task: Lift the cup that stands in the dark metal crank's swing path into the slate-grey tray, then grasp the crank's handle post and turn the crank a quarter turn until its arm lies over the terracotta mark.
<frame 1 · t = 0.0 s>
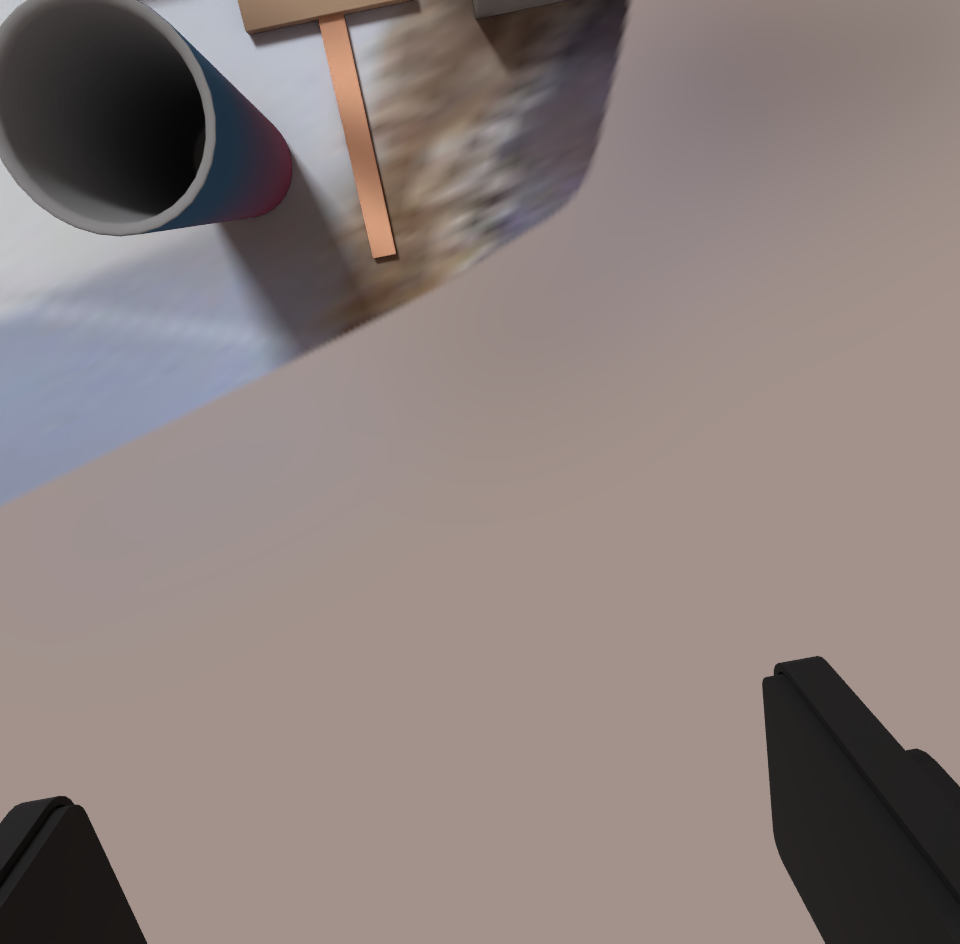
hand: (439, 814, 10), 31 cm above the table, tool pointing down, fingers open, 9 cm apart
cup: (242, 164, 36), on the table
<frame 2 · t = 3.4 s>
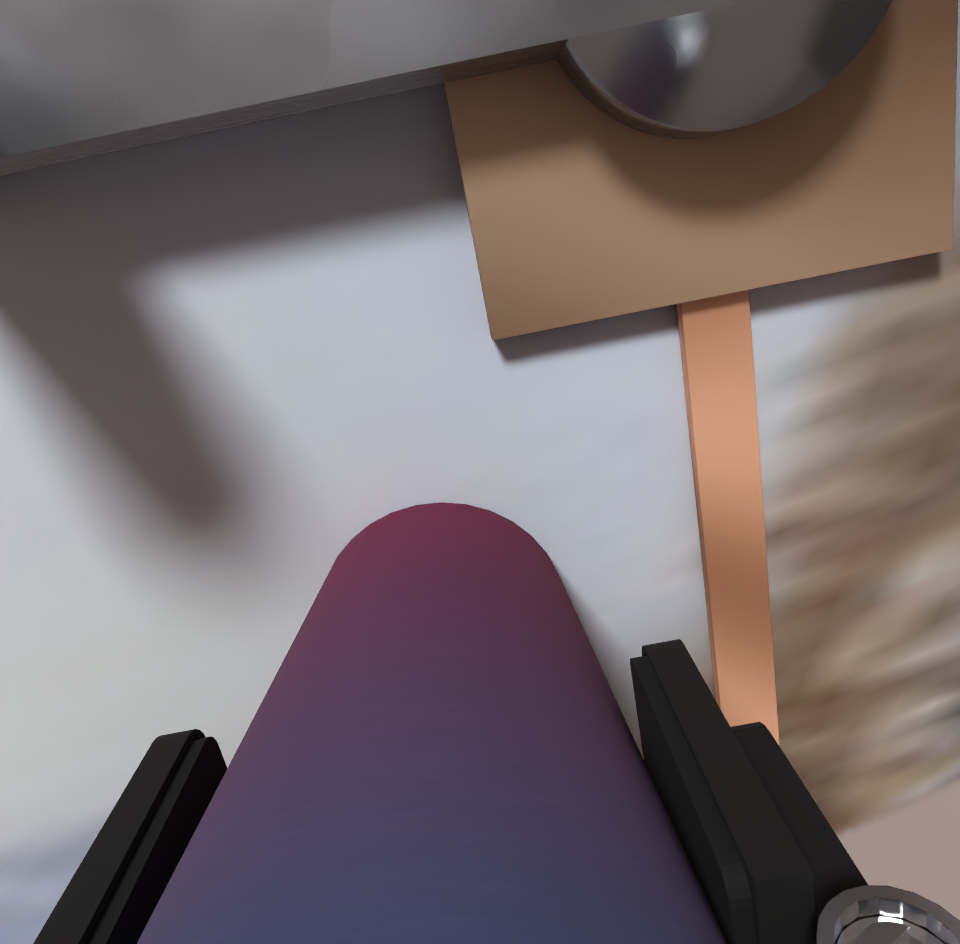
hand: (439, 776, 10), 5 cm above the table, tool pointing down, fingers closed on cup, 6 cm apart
cup: (443, 610, 15), on the table, touching gripper
when the fingers open (7 cm above the table, at t = 10.4 s): cup drops 2 cm, resting on tray.
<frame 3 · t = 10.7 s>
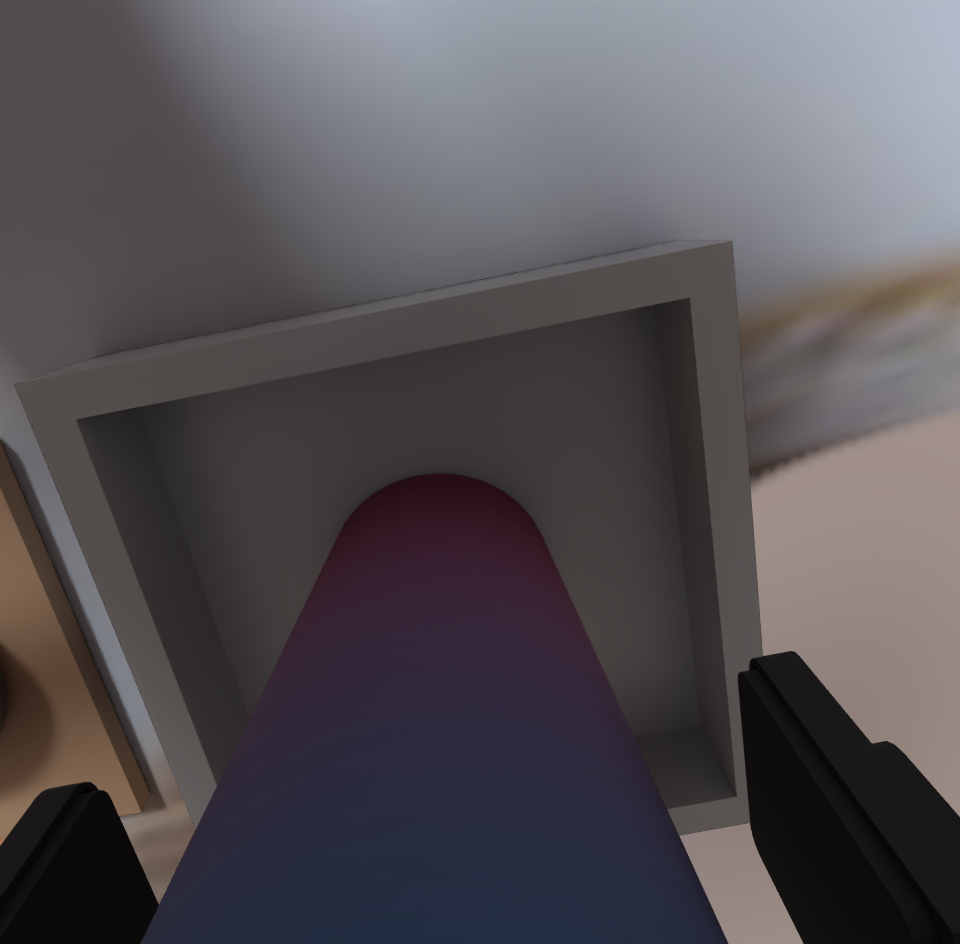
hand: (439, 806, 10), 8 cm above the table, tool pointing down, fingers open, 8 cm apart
tray: (445, 563, 17), on the table
cup: (440, 570, 17), resting on tray
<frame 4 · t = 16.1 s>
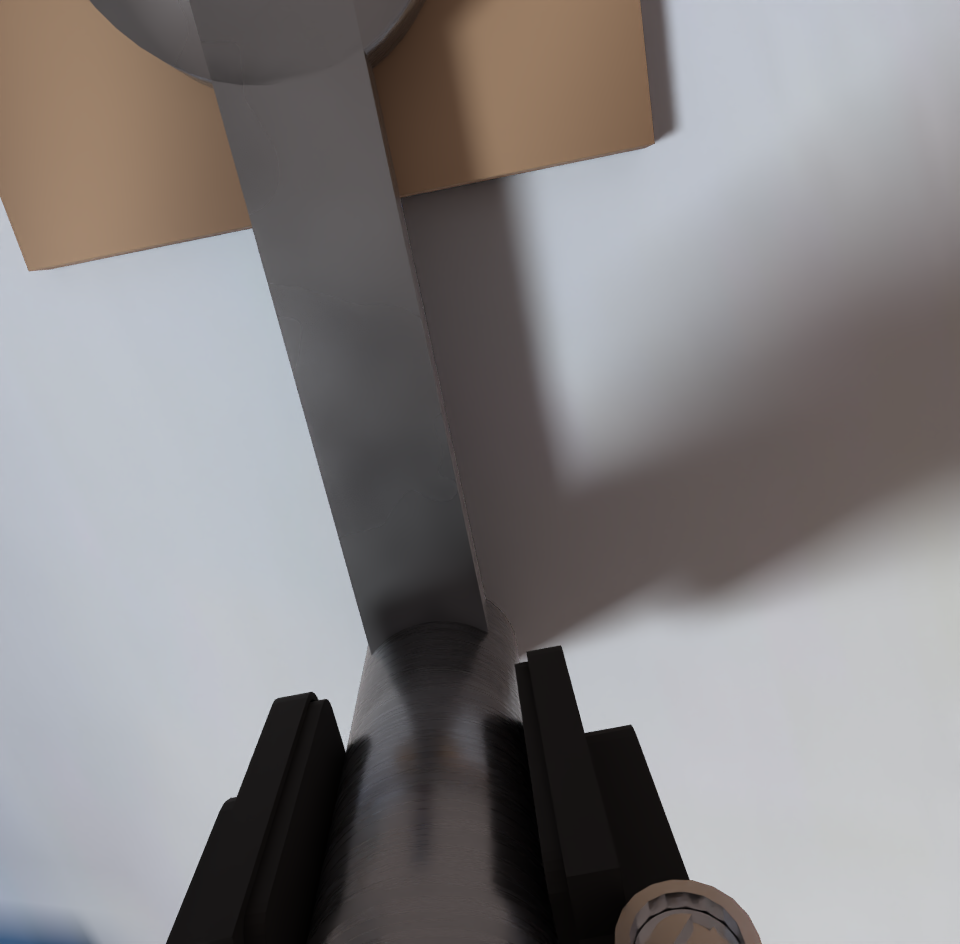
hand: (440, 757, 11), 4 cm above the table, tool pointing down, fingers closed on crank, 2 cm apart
crank: (318, 331, 8), point 4 cm above the table, hinge at -90.0°, touching gripper
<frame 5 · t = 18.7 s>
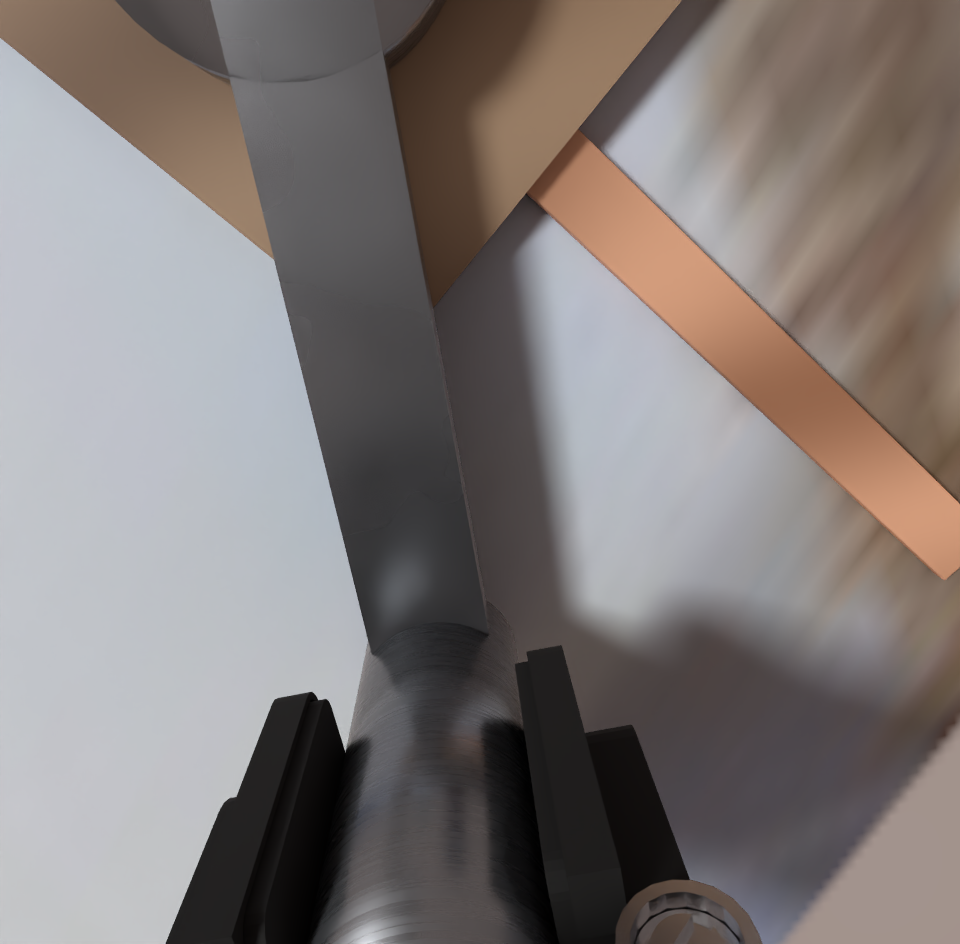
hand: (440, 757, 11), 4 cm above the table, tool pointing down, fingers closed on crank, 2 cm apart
crank: (332, 332, 8), point 4 cm above the table, hinge at -40.4°, touching gripper
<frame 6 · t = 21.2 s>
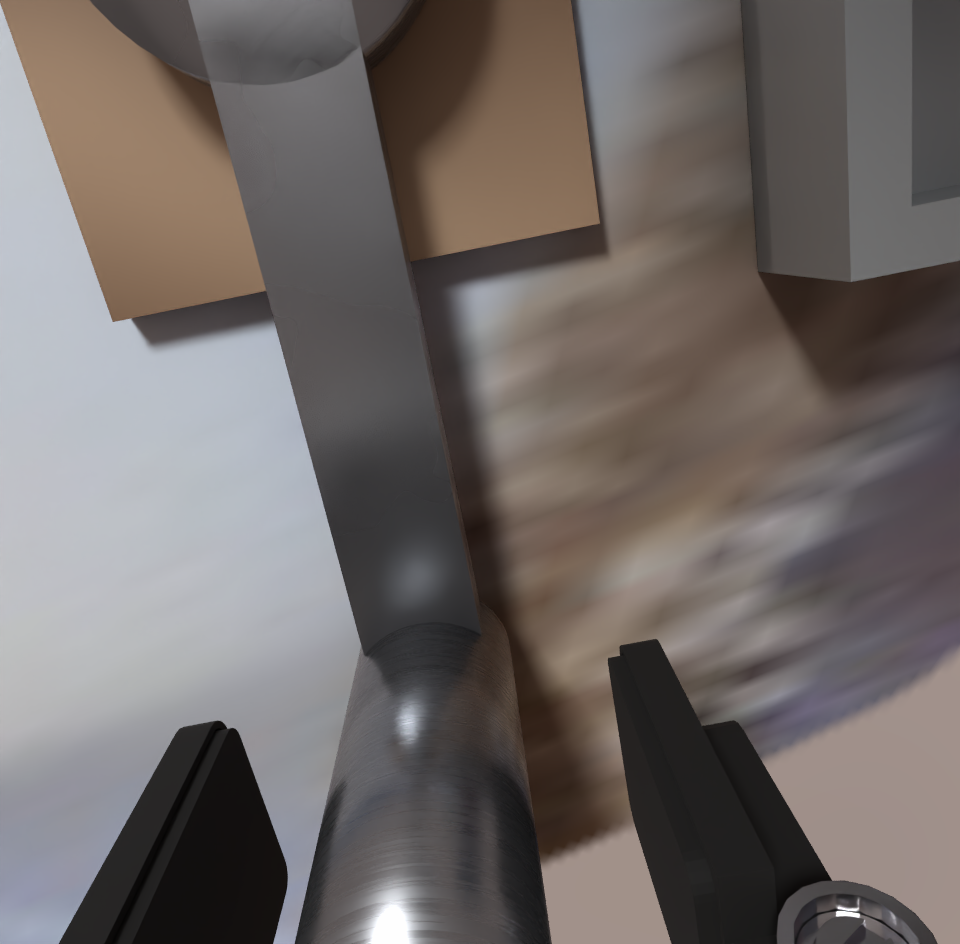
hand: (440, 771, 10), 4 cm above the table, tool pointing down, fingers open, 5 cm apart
crank: (312, 332, 8), point 4 cm above the table, hinge at -0.7°
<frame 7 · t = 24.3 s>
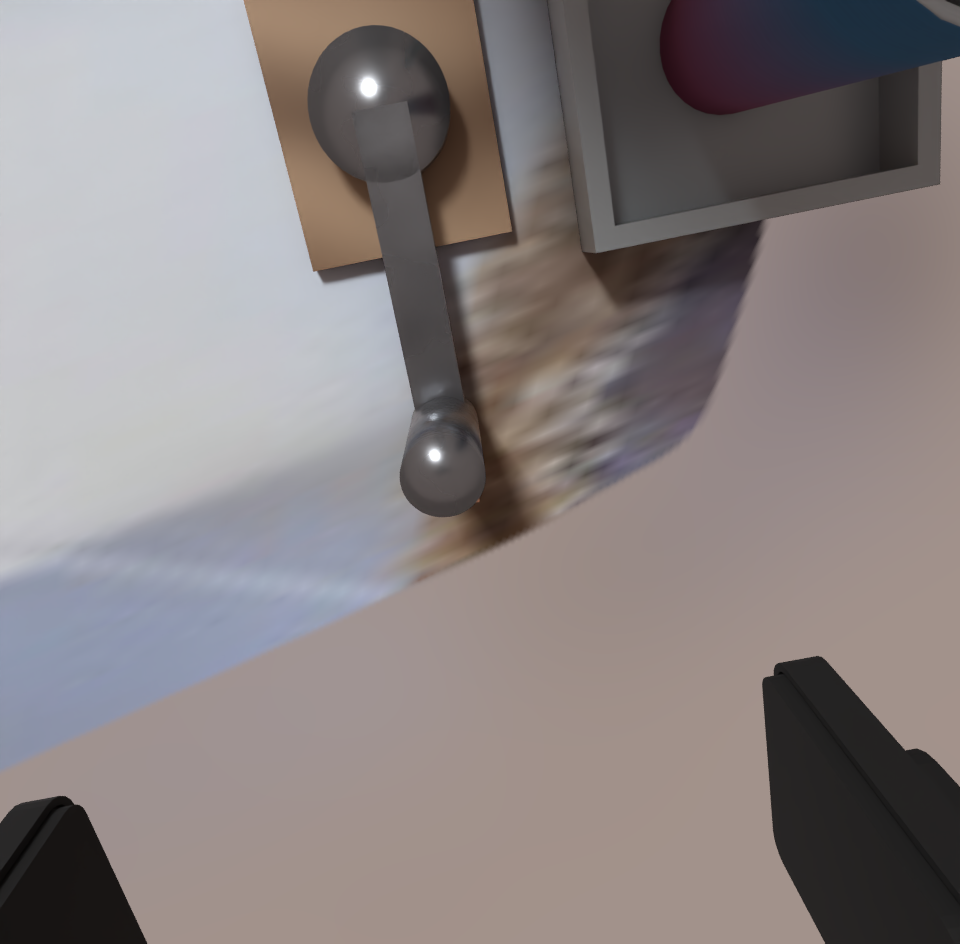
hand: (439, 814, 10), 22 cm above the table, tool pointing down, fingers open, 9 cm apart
tray: (723, 45, 27), on the table
crank base: (384, 116, 27), on the table
crank: (407, 267, 24), point 4 cm above the table, hinge at -0.7°
cup: (724, 41, 26), resting on tray
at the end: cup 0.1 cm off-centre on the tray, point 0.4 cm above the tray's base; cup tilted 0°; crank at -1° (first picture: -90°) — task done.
